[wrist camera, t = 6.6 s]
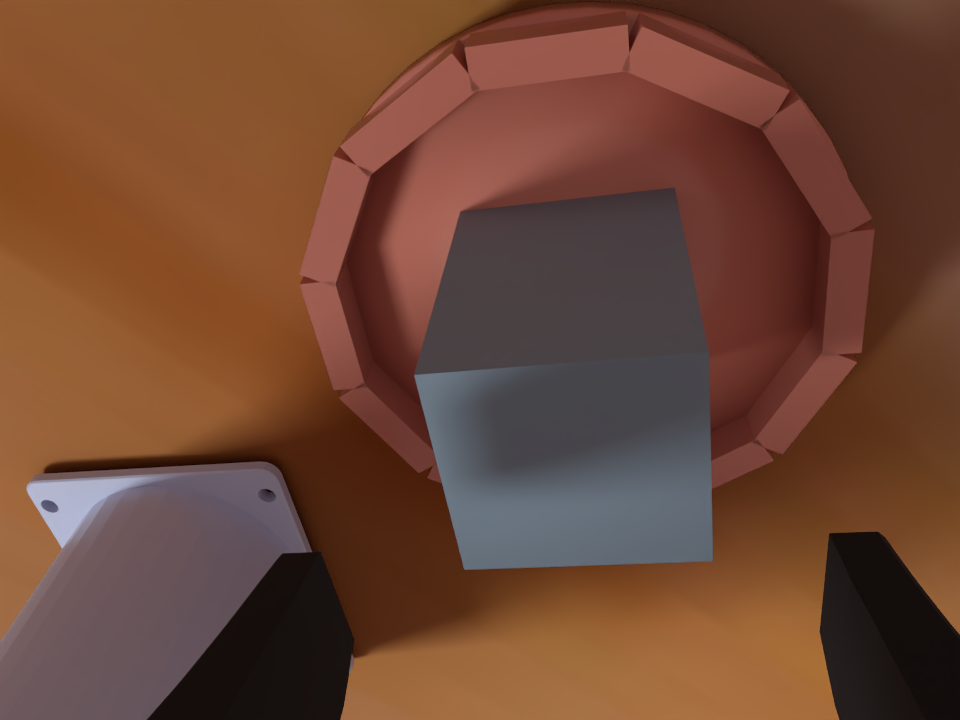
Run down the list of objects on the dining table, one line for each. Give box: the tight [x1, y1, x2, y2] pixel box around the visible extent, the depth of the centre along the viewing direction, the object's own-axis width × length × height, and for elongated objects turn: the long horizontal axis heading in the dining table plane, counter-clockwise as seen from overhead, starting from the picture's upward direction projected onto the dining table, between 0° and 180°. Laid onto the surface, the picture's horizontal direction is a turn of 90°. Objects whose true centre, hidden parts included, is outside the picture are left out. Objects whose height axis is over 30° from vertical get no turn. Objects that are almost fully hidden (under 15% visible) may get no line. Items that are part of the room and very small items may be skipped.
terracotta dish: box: [300, 1, 875, 489], centre depth 19 cm, size 12×12×2 cm
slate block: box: [414, 187, 713, 570], centre depth 17 cm, size 4×4×6 cm
